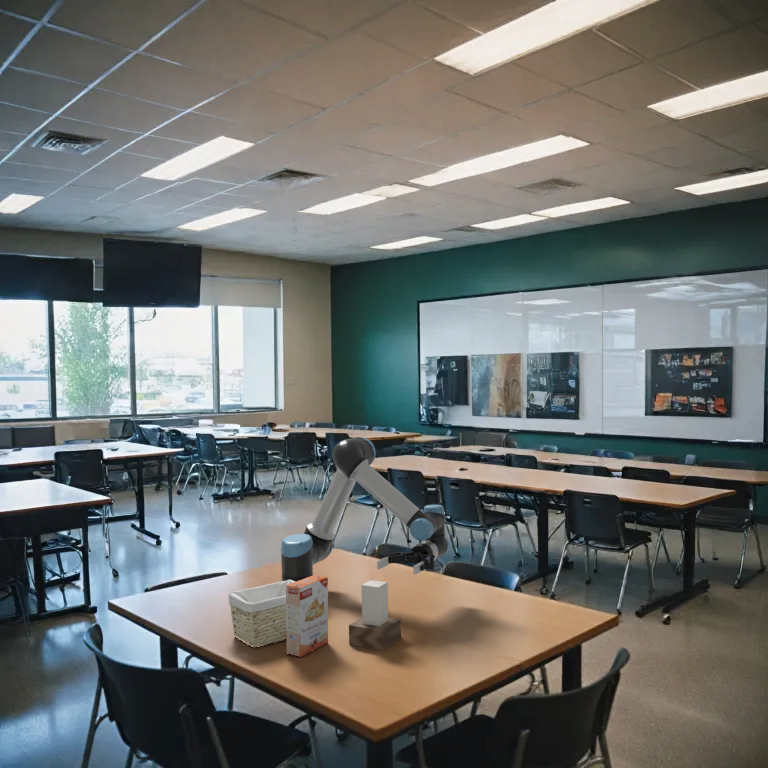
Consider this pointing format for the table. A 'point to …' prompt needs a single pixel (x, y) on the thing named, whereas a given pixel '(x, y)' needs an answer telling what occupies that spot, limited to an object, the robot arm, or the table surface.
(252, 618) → the storage basket
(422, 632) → the table surface
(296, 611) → the cracker box
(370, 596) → the white block
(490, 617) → the table surface
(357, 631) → the walnut block
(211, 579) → the table surface
